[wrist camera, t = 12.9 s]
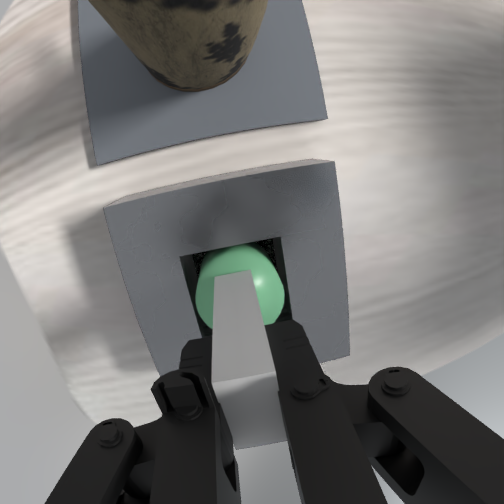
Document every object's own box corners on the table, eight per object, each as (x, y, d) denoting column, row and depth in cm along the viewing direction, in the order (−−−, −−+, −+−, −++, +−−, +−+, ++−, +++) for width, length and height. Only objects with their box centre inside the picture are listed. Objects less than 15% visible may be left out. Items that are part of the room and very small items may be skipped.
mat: (280, -57, 12) (282, -62, 11) (324, 119, 16) (327, 118, 15) (81, -17, 12) (77, -20, 11) (101, 164, 15) (97, 165, 15)
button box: (312, 158, 16) (334, 161, 13) (330, 323, 19) (349, 355, 16) (125, 196, 16) (103, 207, 13) (173, 354, 19) (166, 390, 16)
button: (267, 231, 16) (277, 249, 13) (278, 299, 17) (289, 328, 14) (192, 246, 16) (186, 267, 13) (209, 312, 17) (207, 343, 14)
